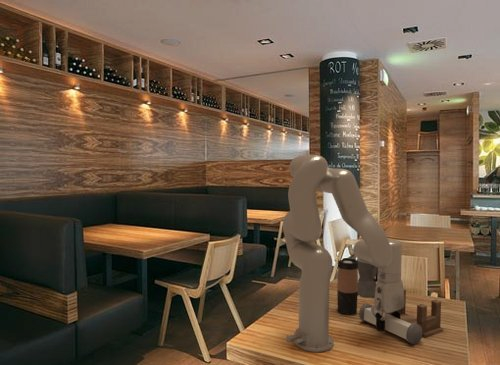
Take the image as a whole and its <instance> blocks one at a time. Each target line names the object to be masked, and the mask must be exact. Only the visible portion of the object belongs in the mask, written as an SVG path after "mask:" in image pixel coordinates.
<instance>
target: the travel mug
mask: <svg viewBox="0 0 500 365" xmlns="http://www.w3.org/2000/svg"><path fill="white" fill-rule="evenodd" d="M358 280H359V273H358V261H357V259H354V258H353V259H352V258H342V259H341V260H340V259H338V260H337V284H336V285H337V289H336V291H337V295H336V296H337V312H338V314H341V315H344V316H354V315H356V314H357V312H358V311H357V310H358V296H359V295H358Z"/></svg>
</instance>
